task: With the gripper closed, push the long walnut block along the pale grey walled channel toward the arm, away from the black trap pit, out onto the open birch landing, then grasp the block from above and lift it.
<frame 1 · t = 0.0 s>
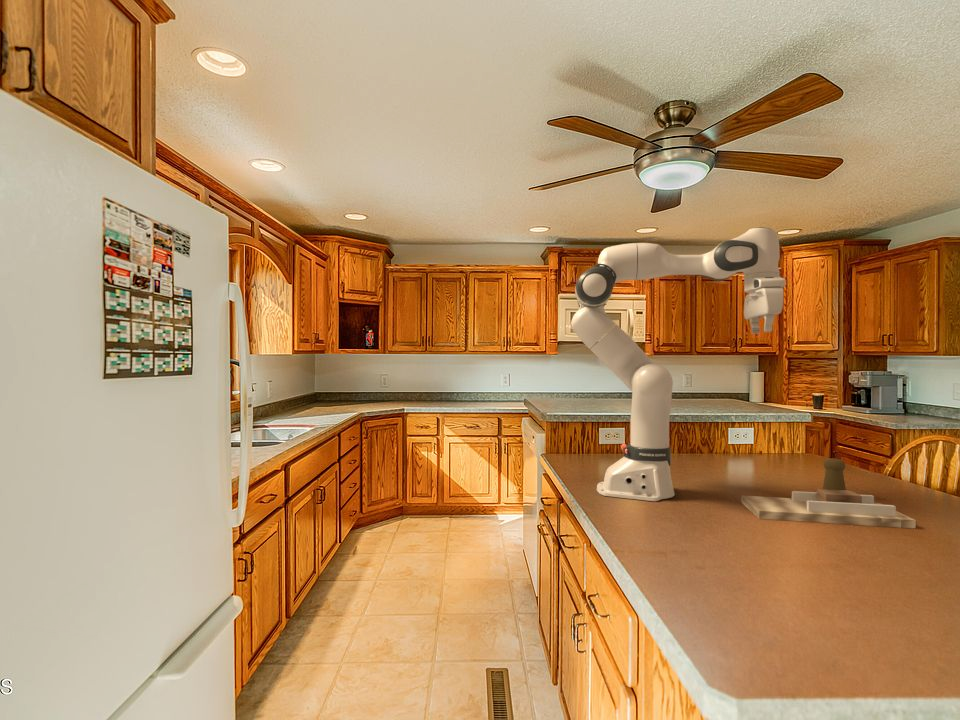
hand: (761, 332, 140), 48 cm above the countertop, tool pointing down, fingers open, 8 cm apart
channel walls: (840, 503, 125), on the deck, point 3 cm above the countertop
walnut block: (838, 507, 125), point 2 cm above the countertop, touching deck
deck: (821, 514, 126), on the countertop
cork: (834, 496, 143), on the countertop
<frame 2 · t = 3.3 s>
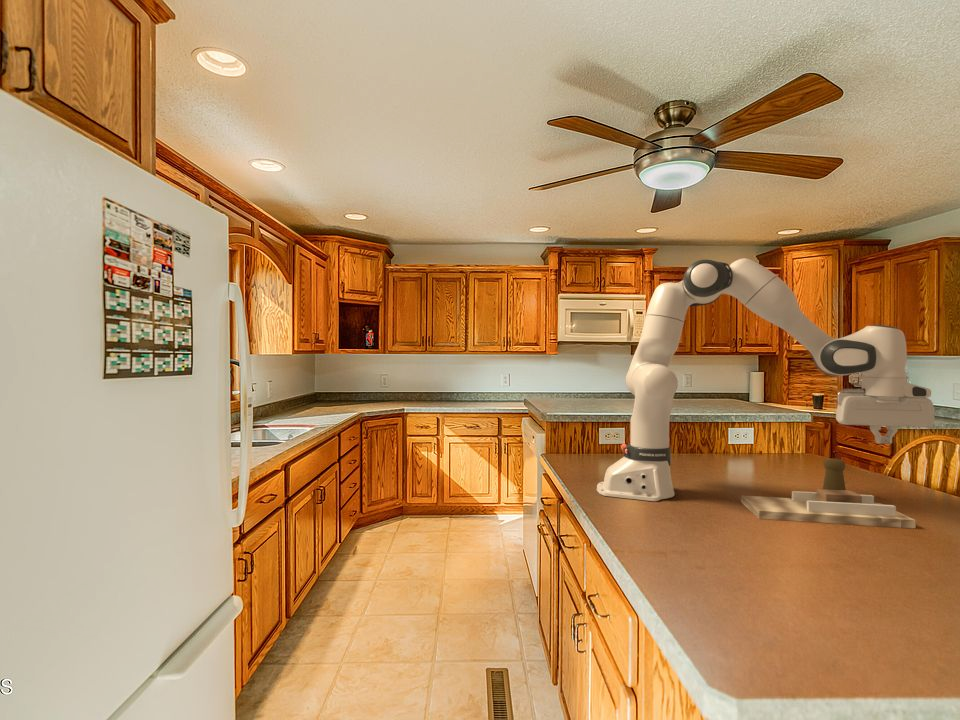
hand: (883, 443, 123), 19 cm above the countertop, tool pointing down, fingers closed
nothing on the countertop moved.
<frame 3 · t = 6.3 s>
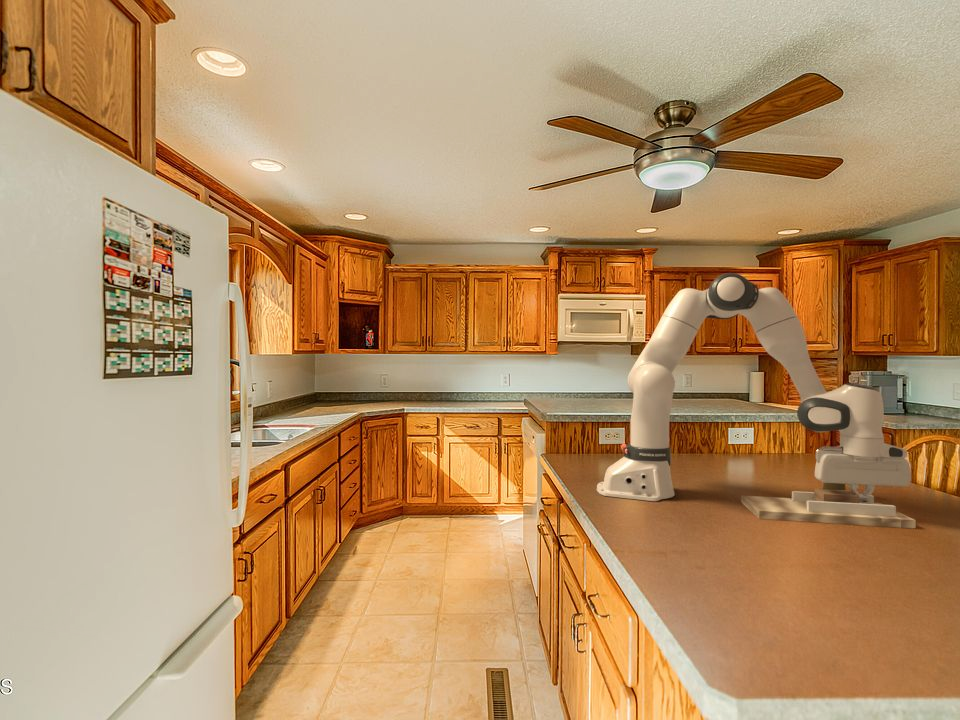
hand: (861, 501, 124), 4 cm above the countertop, tool pointing down, fingers closed
walnut block: (836, 507, 125), point 2 cm above the countertop, touching gripper
everything else where it was.
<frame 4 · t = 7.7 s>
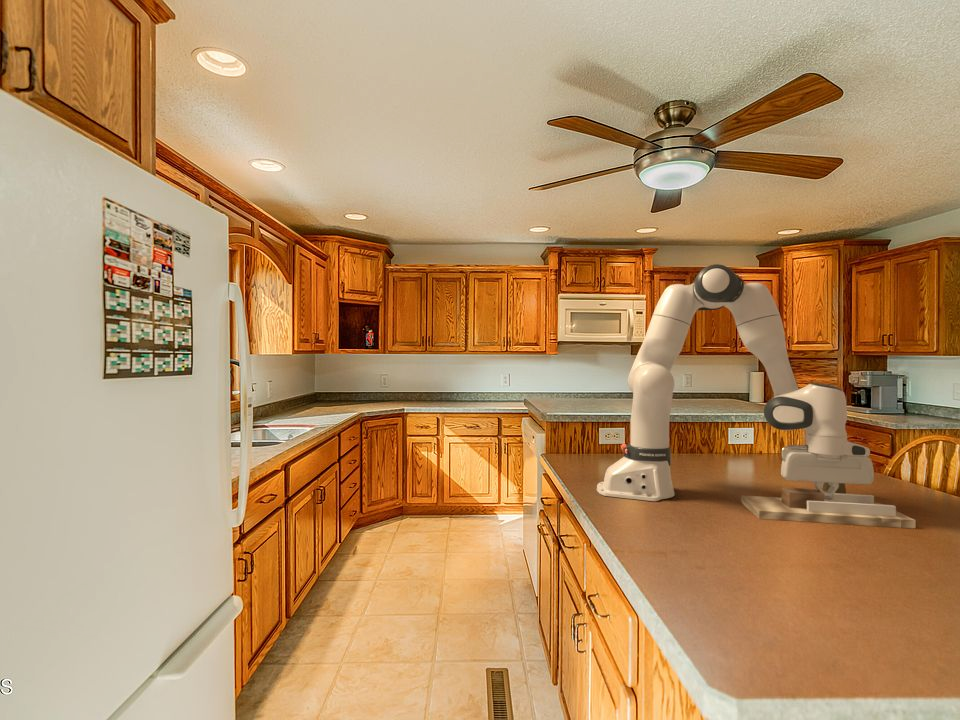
hand: (825, 499, 126), 4 cm above the countertop, tool pointing down, fingers closed
walnut block: (802, 505, 127), point 2 cm above the countertop, touching gripper
everything else where it was.
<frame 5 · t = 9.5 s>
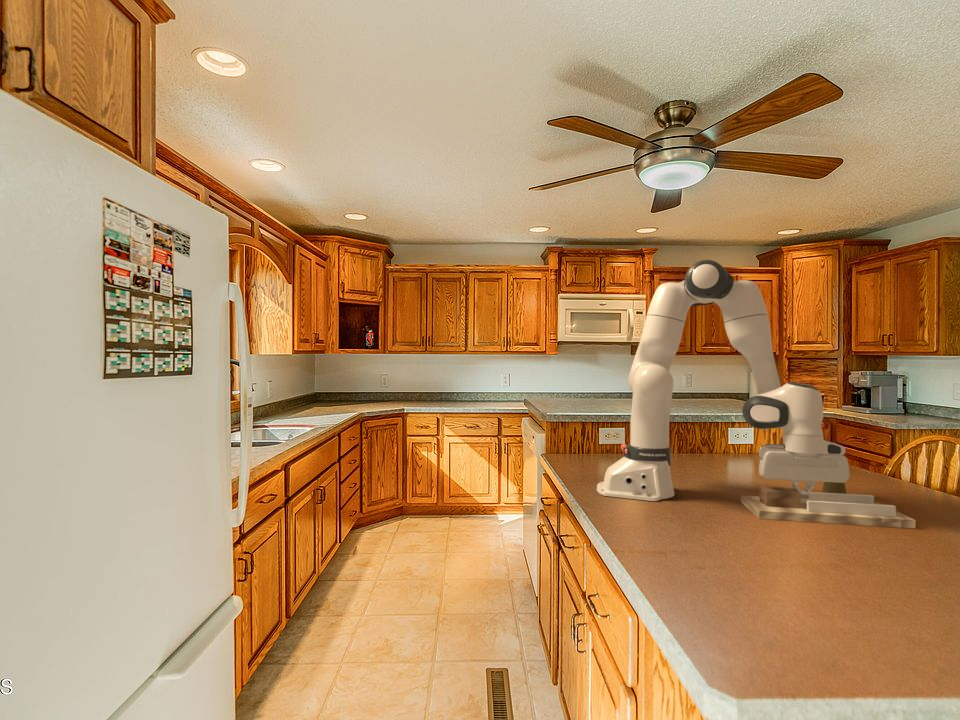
hand: (802, 497, 127), 4 cm above the countertop, tool pointing down, fingers closed
walnut block: (779, 504, 128), point 2 cm above the countertop, touching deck, gripper
everything else where it was.
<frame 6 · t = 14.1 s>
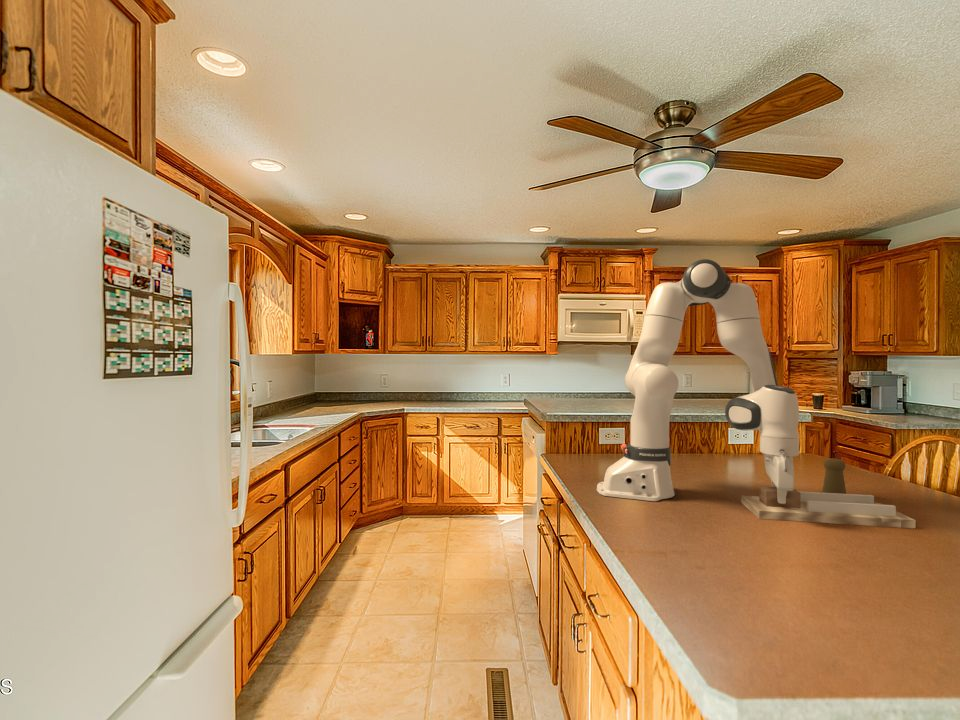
hand: (779, 499, 128), 3 cm above the countertop, tool pointing down, fingers closed on walnut block, 5 cm apart
walnut block: (779, 504, 128), point 2 cm above the countertop, touching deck, gripper
everything else where it was.
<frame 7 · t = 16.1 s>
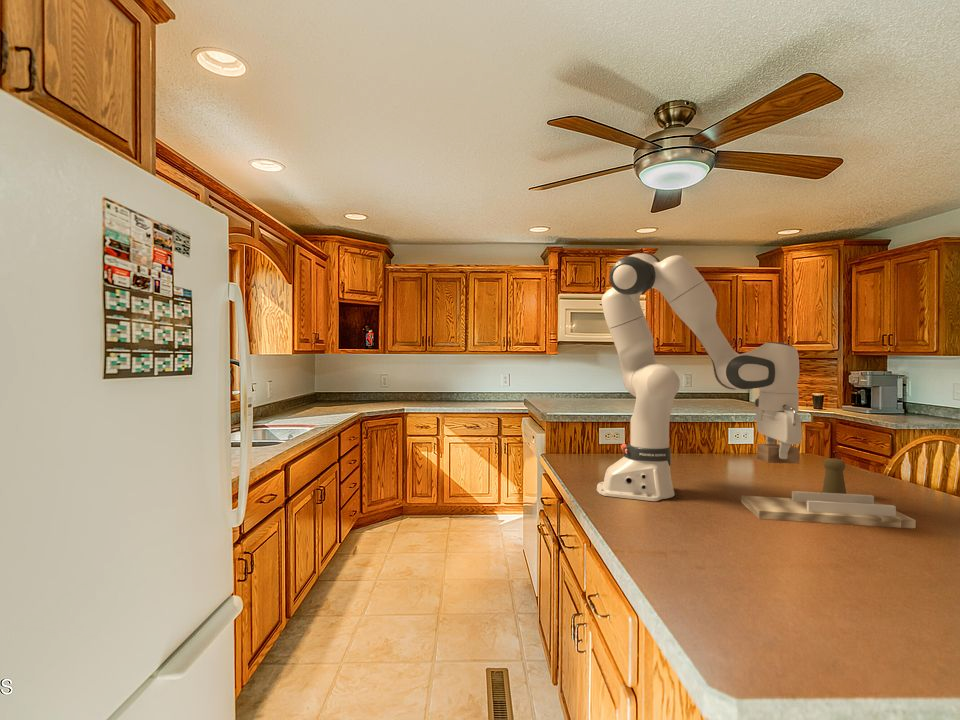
hand: (777, 455, 128), 15 cm above the countertop, tool pointing down, fingers closed on walnut block, 5 cm apart
walnut block: (777, 461, 128), point 13 cm above the countertop, touching gripper
everything else where it was.
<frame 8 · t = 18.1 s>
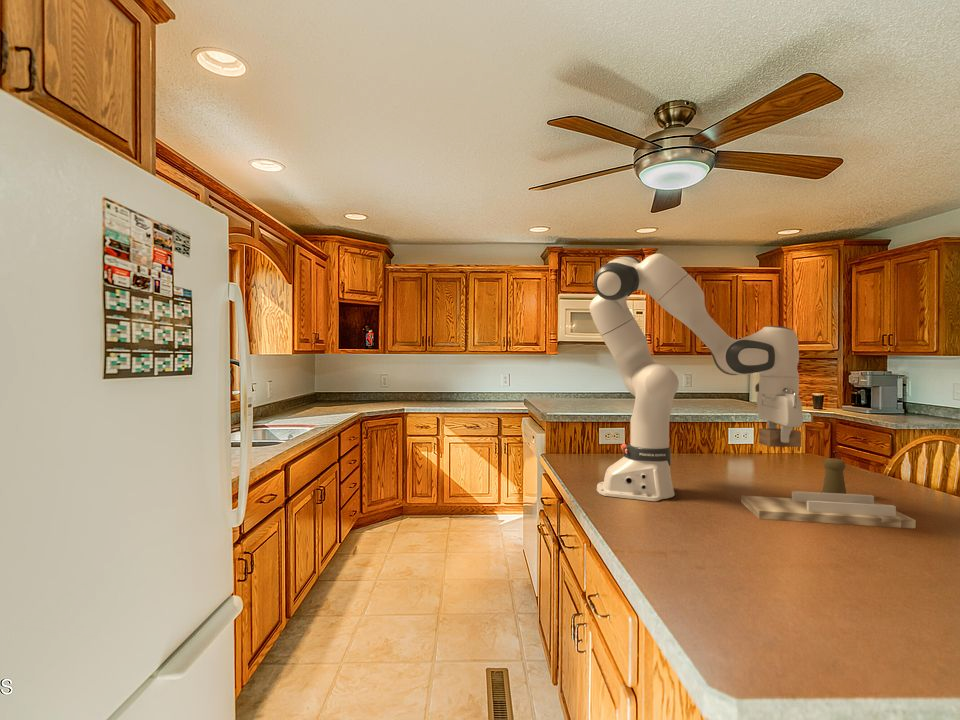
hand: (778, 439, 128), 19 cm above the countertop, tool pointing down, fingers closed on walnut block, 5 cm apart
walnut block: (779, 445, 128), point 18 cm above the countertop, touching gripper
everything else where it was.
at the end: the gripper is holding walnut block; walnut block inside the target area (0.2 cm from its centre), point 17.7 cm above the countertop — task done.
